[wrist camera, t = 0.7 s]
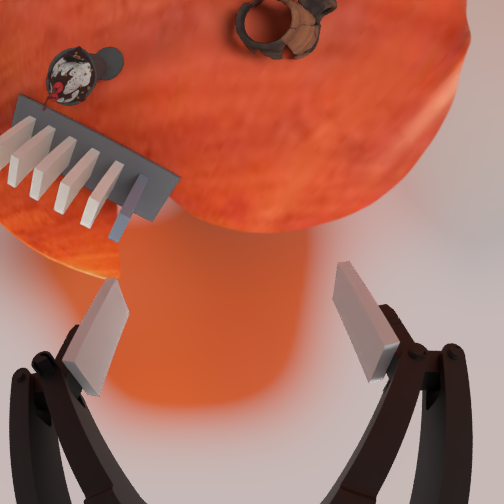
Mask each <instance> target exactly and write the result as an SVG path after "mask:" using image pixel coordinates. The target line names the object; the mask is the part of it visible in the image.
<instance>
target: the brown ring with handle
mask: <svg viewBox="0 0 504 504" xmlns="http://www.w3.org/2000/svg"><path fill="white" fill-rule="evenodd" d="M263 1H264V0H252V1H251V2H250V3H244V4H243V5H242V6H241V7H240V9H239V11H238V13H237V15H236V19H235V25H236V31H237V33H238V36H239V37H240V39H241V40H242V41H243V43H244V44H245V45H246V46H247V48H248V49H249V50H250V51H251V52H252V53H253V54H255V52H256V51H257V50H258V49H259V50H260V51H261V52H262V53H263V54H264V55H266V56H269V57H271V58H272V59H282V58H283V57H282V55H281V54H282V53H283V49H284V47H285V46H286V45H287V46H288V47H289V48H290V49H291V51H292V52H293V54H296V56H294V59H296V60H297V59H301V58H303V57H305V56H307V55H308V54H309V53H311V52H312V51H313V50H314V49H315V47H316V45H317V43H318V40H319V34H320V27H321V25H320V21H321V19H322V18H323V17H324V16H325V15H327V14H329V13H331V12H332V11H334V10H335V9H336V8H337V1H336V0H298V2H299V3H296V2H294V0H278V1H281V2H283V3H284V4H285V5H287V7H288V8H289V10H290V12H291V24H290V27H289V29H288V31H287V32H286V33H285V34H284V35H283V36H282V37H281V38H280V39H279V40H276V41H274V42H270V43H259V42H255V41H254V40H252V39H251V38H250V37H249V36H248V35H247V33H246V31H245V27H244V21H245V17H246V14H247V13H248V11H249V10H250V8H251V7H256V6H258V5H259V4H260V3H262V2H263Z"/></svg>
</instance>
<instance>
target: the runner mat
mask: <svg viewBox="0 0 504 504" xmlns="http://www.w3.org/2000/svg"><path fill="white" fill-rule="evenodd" d="M42 110H43V104H41V103H39V102H37V101H35V100H32V99H30V98H28V97H26V96H24V95H22V94H20V95H19V97H18V100H17V104H16V108H15V112H14V116H13V121H12V125H11V128H12V127H13V126H14V125H16V124H17V123H19V122H20V121H22V120H23V119H25V118H26V117H28V116H32V117H34V118H36V121H35V125H34V129H33V133H32V137H33V136H35V135H36V134H37V133H39V132H40V131H41V130H43V129H44V128H45V127H47V126H48V125H49V126H51V127H53V128H55V129H56V130H55V133H54V136H53V140H52V143H51V147H50V150H49V153H50V152H51V151H53V150H54V149H55V148H56V147H57V146H58V145H59V144H60V143H62V142H63V141H64V140H65V139H66V138H67V137H69V136H71V137H73V138H75V139H76V140H77V142H76V145H75V148H74V150H73V153H72V156H71V159H70V163H69V165H68V166H67V167H66V169H65V170H64V171H63V172H62V173H61V175H63V176H66V175H67V174H68V173H69V171H70V170H71V169H72V168H73V167H74V166H75V165H76V164H77V163H78V162H79V160H80V159H81V158H82V157H83V156H84V155H85V154H86V153H87V152H88V151H89V150H90V149H91V148H94V149H96V150H98V151H99V152H100V154H99V156H98V159H97V161H96V163H95V166H94V168H93V171H92V174H91V176H90V178H89V179H88V180H87V182H86V183H85V184H84V186H83V187H85V188H87V189H89V190H91V191H94V189H95V188H96V186H97V185H98V183H99V182H100V181H101V179H102V178H103V176H104V175H105V174H106V172H107V171H108V170H109V168H110V167H111V166H112V164H113V163H114V162H115V160H116V161H118V162H120V163H122V164H124V167H123V169H122V171H121V173H120V175H119V177H118V179H117V181H116V183H115V185H114V188H113V190H112V191H111V193H110V194H109V196H108V198H107V199H108V200H110V201H112V202H114V203H116V204H118V205H120V206H122V207H123V205H124V203H125V201H126V199H127V197H128V195H129V193H130V191H131V189H132V187H133V186H134V184H135V182H136V180H137V178H138V177H139V175H140V173H141V174H143V175H144V176H146V177H148V178H149V180H148V182H147V184H146V186H145V188H144V190H143V192H142V194H141V196H140V198H139V200H138V203H137V205H136V207H135V209H134V211H133V213H135V214H137V215H139V216H141V217H143V218H145V219H147V220H149V221H151V222H153V220H154V219H155V217H156V215H157V214H158V212H159V211H160V209H161V207H162V206H163V204H164V203H165V201H166V200H167V198H168V197H169V195H170V194H171V192H172V191H173V189H174V188H175V186H176V185H177V183H178V182H179V180H180V179H181V177H179V176H178V175H176V174H174V173H172V172H170V171H169V170H167V169H165V168H163V167H161V166H160V165H158V164H156V163H154V162H152V161H151V160H149V159H147V158H145V157H143V156H141V155H140V154H138V153H136V152H134V151H132V150H130V149H128V148H127V147H125V146H123V145H121V144H119V143H117V142H115V141H113V140H112V139H110V138H108V137H106V136H104V135H102V134H100V133H98V132H96V131H94V130H92V129H90V128H89V127H87V126H85V125H83V124H81V123H79V122H77V121H75V120H73V119H71V118H69V117H67V116H65V115H63V114H61V113H59V112H57V111H55V110H53V109H51V108H49V107H47V106H46V110H45V111H42ZM32 137H31V138H32Z"/></svg>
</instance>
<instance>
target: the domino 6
mask: <svg viewBox="0 0 504 504" xmlns="http://www.w3.org/2000/svg"><path fill="white" fill-rule="evenodd" d="M148 180H149V178H148V177H146V176H144V175H143V174H141V173H140V175H139V177H138V178H137V180H136V182H135V184H134V186H133V187H132V189H131V191H130V193H129V195H128V197H127V199H126V201H125V203H124V205H123V207H122V209H121V211H120V213H119V215H118V217H117V219H116V221H115V223H114V225H113V228H112V230H111V232H110V234H109V237H108V238H109V239H111V240H113V241H115V242H117V243H118V242H119V240H120V238H121V236H122V234H123V232H124V230H125V228H126V226H127V224H128V222H129V220H130V218H131V216H132V214H133V211H134V209H135V207H136V205H137V203H138V200H139V198H140V196H141V194H142V192H143V190H144V188H145V186H146V184H147V182H148Z"/></svg>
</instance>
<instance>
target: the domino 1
mask: <svg viewBox="0 0 504 504" xmlns="http://www.w3.org/2000/svg"><path fill="white" fill-rule="evenodd" d="M35 121H36V118H34V117H32V116H28V117H26V118H25V119H23V120H22V121H20V122H19V123H17V124H16V125H14V126H13V127H12V128H10V129H9V130H7V131H6V132H5V133H3V134H2V135H1V136H0V170H1V169H2V168H3V167H5V166H6V165H7V164H8V163H9V162H10V159H11V154H12V153H14V152H15V151H16V150H17V149H18V148H20V147H21V146H22V145H23V144H24V143H26V142H27V141H28V140H29V139H31V137H32V133H33V129H34V125H35Z"/></svg>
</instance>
